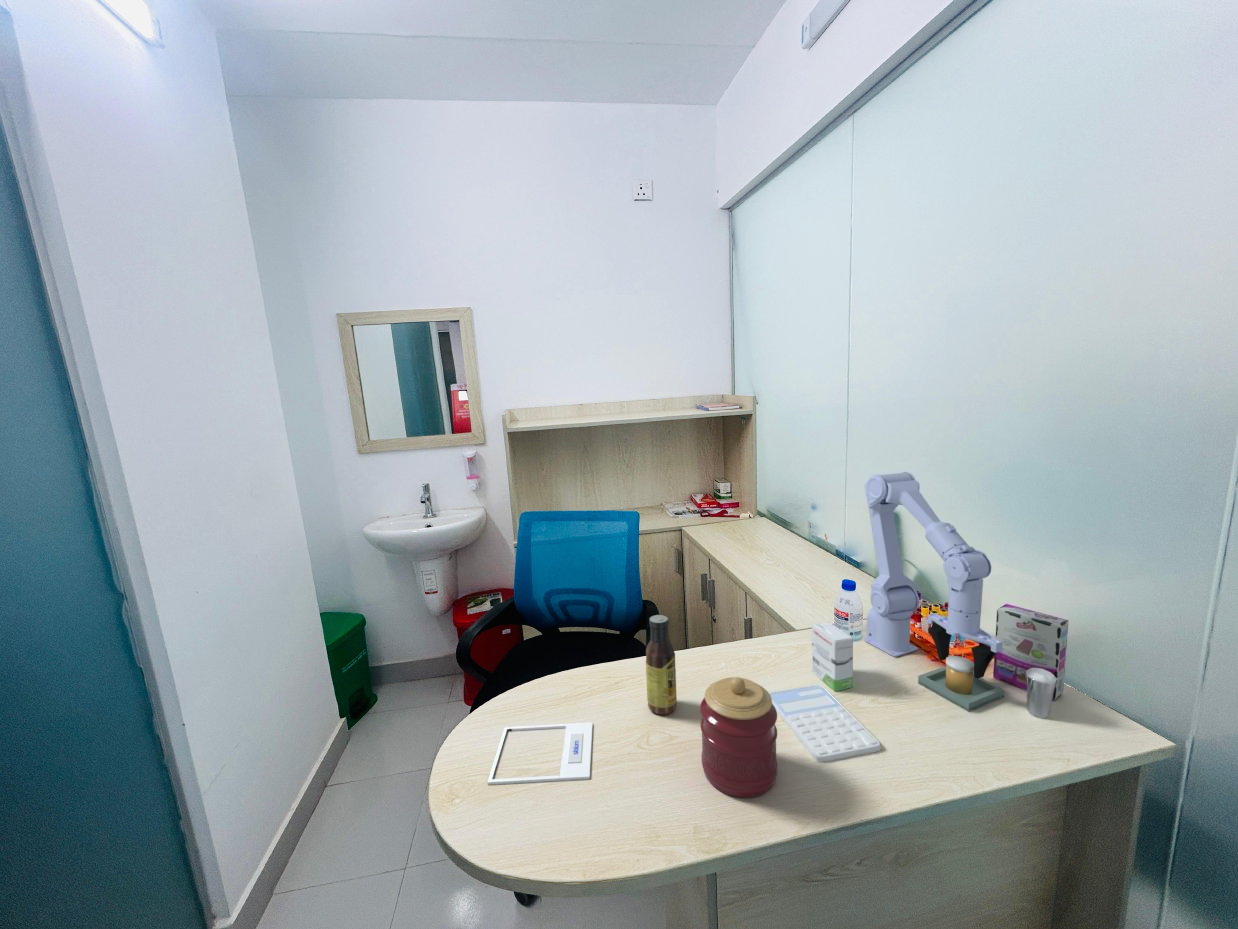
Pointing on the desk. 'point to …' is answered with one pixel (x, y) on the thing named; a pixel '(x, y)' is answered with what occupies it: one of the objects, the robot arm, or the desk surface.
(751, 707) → the canister
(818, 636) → the ink box
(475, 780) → the desk surface
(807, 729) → the calculator
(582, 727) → the photo frame
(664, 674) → the sauce bottle
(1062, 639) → the candy bar box
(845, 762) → the desk surface
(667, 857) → the desk surface
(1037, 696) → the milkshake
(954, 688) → the pill bottle
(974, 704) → the tray
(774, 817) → the desk surface
